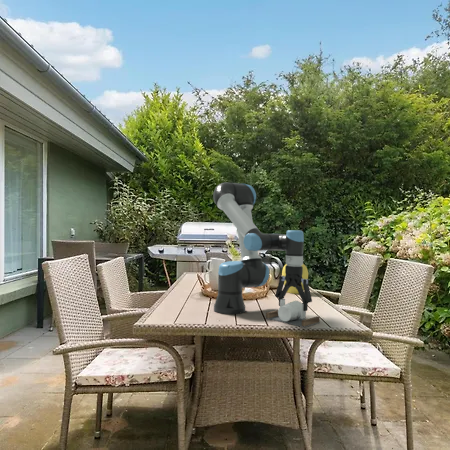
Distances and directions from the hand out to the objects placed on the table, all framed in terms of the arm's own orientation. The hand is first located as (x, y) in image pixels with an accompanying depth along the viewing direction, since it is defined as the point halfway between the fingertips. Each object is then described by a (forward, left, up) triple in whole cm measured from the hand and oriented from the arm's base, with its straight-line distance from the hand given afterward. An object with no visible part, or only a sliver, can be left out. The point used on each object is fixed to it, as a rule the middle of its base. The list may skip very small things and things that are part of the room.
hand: (292, 315), depth 179 cm
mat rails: (0, 0, -2) cm, 2 cm away
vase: (-41, +64, -2) cm, 76 cm away
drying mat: (0, 0, -2) cm, 2 cm away
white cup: (0, -6, +2) cm, 6 cm away
